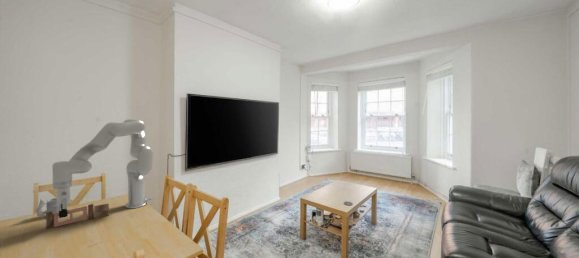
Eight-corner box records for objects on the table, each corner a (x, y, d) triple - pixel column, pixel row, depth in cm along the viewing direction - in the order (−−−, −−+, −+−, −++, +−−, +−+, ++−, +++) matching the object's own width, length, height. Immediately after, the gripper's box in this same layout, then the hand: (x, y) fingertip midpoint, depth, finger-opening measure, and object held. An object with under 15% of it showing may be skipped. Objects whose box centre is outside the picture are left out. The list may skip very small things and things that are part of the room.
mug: (66, 213, 140) (66, 194, 139) (41, 221, 129) (40, 201, 128) (59, 211, 142) (58, 193, 142) (33, 219, 131) (32, 199, 130)
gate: (86, 217, 134) (86, 206, 133) (87, 218, 133) (87, 206, 132) (53, 226, 123) (53, 213, 123) (54, 227, 122) (53, 214, 122)
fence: (108, 213, 142) (108, 200, 141) (108, 215, 139) (108, 202, 139) (47, 226, 124) (46, 211, 124) (46, 229, 121) (45, 213, 121)
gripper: (74, 185, 121) (74, 219, 122) (70, 180, 130) (70, 210, 131) (54, 188, 115) (54, 223, 116) (51, 182, 124) (52, 214, 125)
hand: (63, 216), depth 123 cm, fingers closed
